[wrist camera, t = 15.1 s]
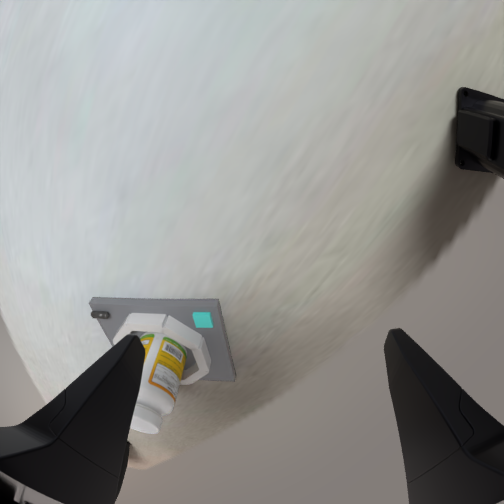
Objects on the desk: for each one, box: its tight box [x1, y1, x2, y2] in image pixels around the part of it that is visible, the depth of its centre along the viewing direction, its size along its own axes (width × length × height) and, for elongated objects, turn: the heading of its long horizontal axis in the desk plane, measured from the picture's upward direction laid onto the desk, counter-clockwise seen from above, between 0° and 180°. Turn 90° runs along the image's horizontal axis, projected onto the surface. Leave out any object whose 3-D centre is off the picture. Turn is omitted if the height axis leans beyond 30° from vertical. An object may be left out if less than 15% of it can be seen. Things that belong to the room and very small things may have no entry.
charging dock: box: [89, 297, 236, 385], centre depth 28 cm, size 14×12×2 cm
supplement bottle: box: [130, 332, 187, 434], centre depth 24 cm, size 5×5×10 cm
